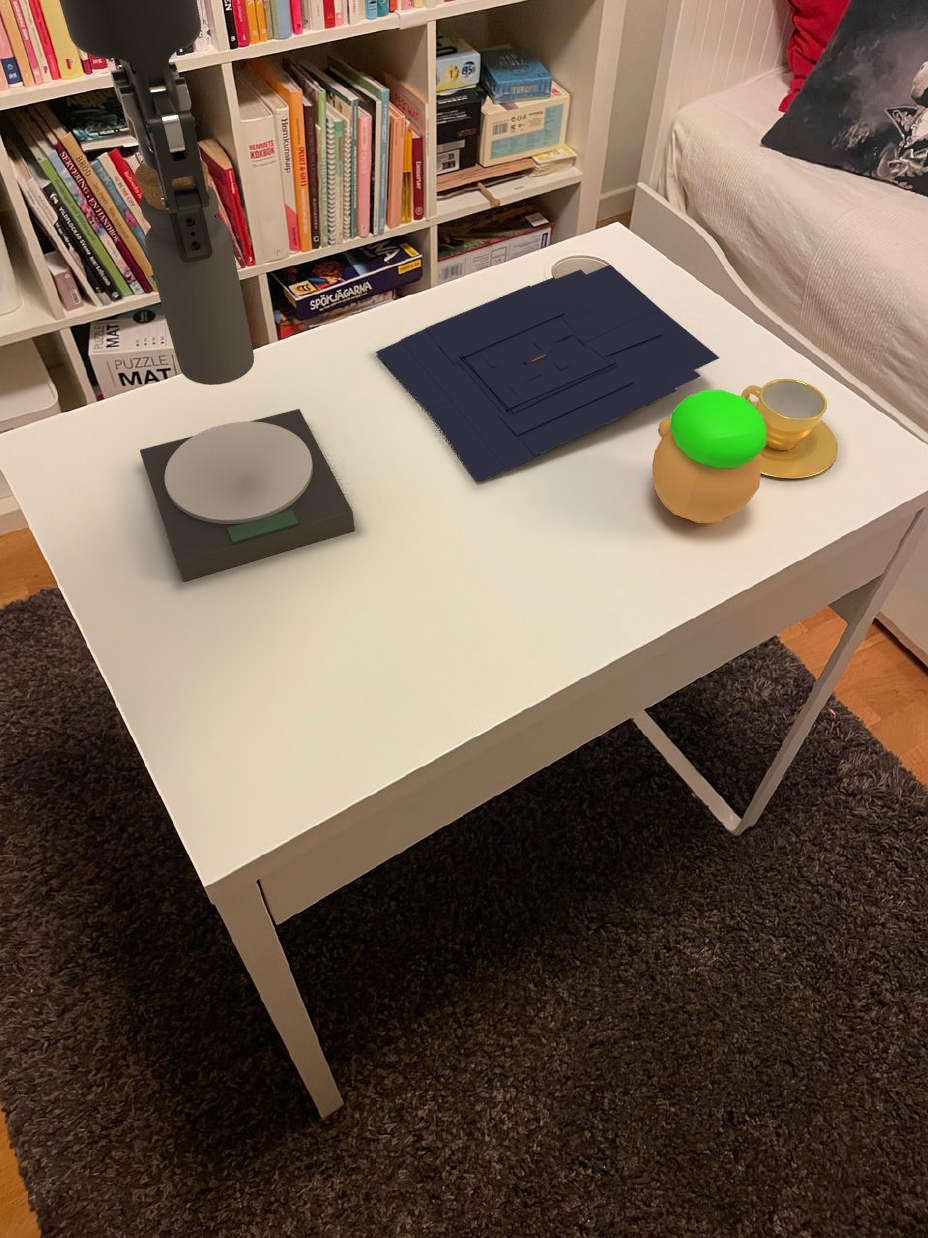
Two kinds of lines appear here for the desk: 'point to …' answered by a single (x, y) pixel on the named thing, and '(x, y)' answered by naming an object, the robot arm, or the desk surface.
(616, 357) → the papers
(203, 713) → the desk surface
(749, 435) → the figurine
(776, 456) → the cup
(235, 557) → the scale
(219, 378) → the bottle
